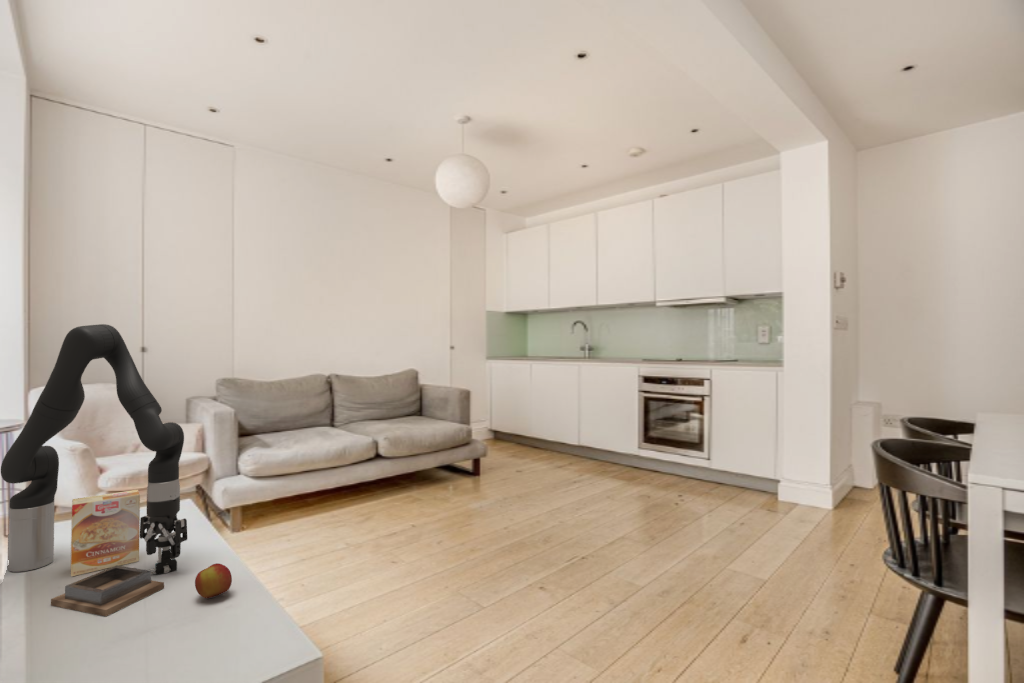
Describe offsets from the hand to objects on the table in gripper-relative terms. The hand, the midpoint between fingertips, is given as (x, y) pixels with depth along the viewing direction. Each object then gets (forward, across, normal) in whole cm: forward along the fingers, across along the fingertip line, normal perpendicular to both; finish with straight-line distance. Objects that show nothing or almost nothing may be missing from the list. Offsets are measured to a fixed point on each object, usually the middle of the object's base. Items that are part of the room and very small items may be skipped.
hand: (163, 555), depth 137 cm
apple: (+5, +25, -7) cm, 26 cm away
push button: (+5, 0, 0) cm, 5 cm away
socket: (+3, 0, -14) cm, 14 cm away
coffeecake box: (+5, -20, -1) cm, 21 cm away
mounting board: (+4, 0, -14) cm, 15 cm away
